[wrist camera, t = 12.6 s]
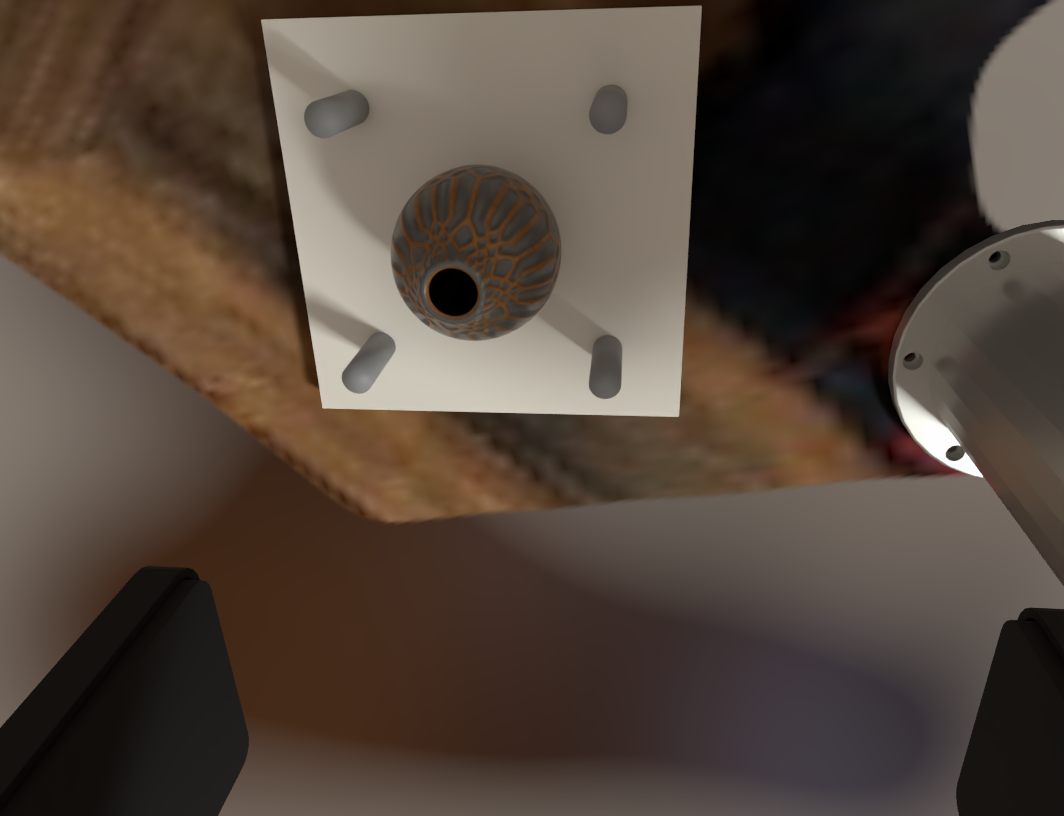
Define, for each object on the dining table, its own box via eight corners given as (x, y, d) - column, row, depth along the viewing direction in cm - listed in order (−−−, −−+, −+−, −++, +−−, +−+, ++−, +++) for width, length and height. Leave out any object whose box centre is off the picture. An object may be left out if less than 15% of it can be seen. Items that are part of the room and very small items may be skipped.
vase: (589, 275, 37) (577, 347, 30) (454, 323, 39) (409, 404, 31) (532, 127, 35) (502, 164, 27) (389, 186, 37) (323, 237, 29)
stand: (699, 5, 33) (710, 6, 28) (677, 403, 41) (683, 457, 36) (275, 18, 35) (217, 22, 30) (332, 395, 43) (293, 446, 38)
